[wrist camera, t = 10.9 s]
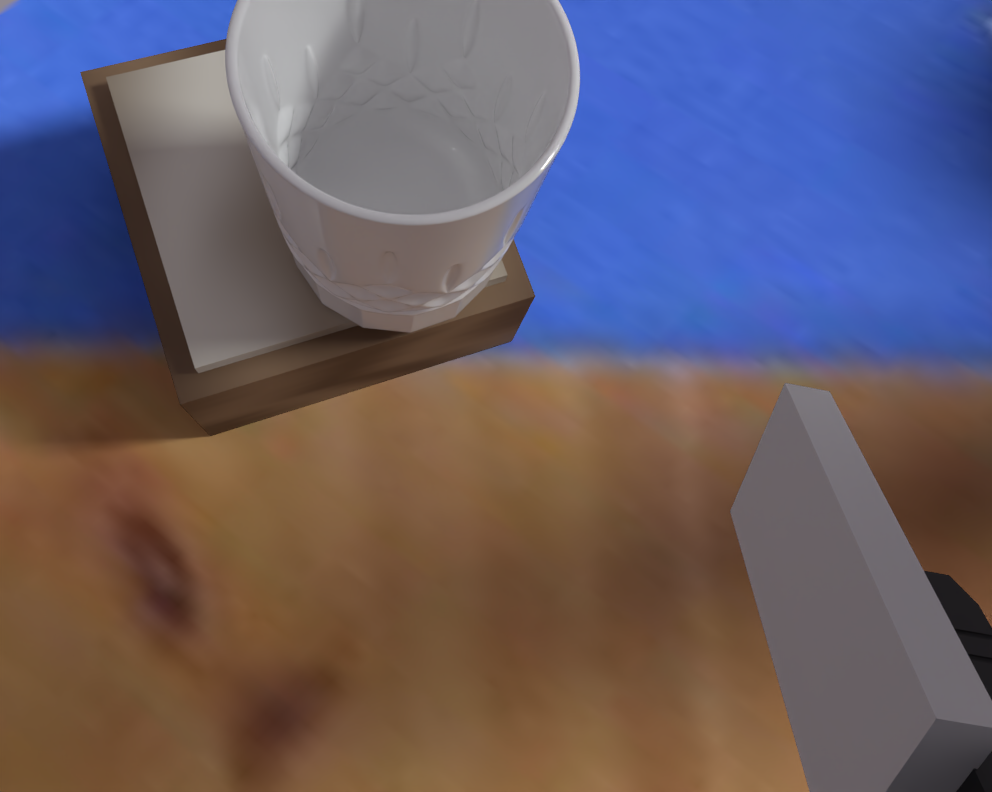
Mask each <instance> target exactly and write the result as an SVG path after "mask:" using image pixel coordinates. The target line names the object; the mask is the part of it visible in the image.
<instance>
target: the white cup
mask: <svg viewBox="0 0 992 792" xmlns="http://www.w3.org/2000/svg"><path fill="white" fill-rule="evenodd" d="M225 67H226V77H227V83H228V88H229V92H230V96H231V100H232V103H233V106H234V109H235V111H236V114H237V117H238V119H239V122H240V125H241V127H242V130H243V133H244V135H245V138H246V141H247V143H248V146H249V149H250V152H251V154H252V157H253V160H254V163H255V165H256V168H257V171H258V174H259V177H260V179H261V182H262V185H263V188H264V190H265V193H266V196H267V199H268V201H269V204H270V206H271V208H272V210H273V213H274V215H275V217H276V220H277V223H278V226H279V228H280V230H281V232H282V234H283V237H284V239H285V241H286V243H287V245H288V247H289V249H290V251H291V252H292V254H293V257H294V260H295V263H296V266H297V267H298V269H299V270H300V272H301V273H302V275H303V276H304V278H305V279H306V281H307V282H308V284H309V285H310V286H311V288H312V289H313V291H314V292H315V294H316V295H317V297H318V298H319V300H320V301H321V303H322V304H323V305H325V306H327V307H328V308H330V309H332V310H334V311H335V312H337V313H339V314H340V315H342V316H344V317H345V318H347V319H349V320H351V321H352V322H354V323H356V324H357V325H359V326H361V327H363V328H369V329H379V330H389V331H398V332H408V333H411V332H414V331H417V330H420V329H423V328H426V327H429V326H432V325H435V324H437V323H440V322H443V321H446V320H449V319H452V318H454V317H456V316H457V315H458V314H459V313H460V312H461V311H462V310H463V309H464V308H465V307H466V306H467V305H468V304H469V303H470V302H471V301H472V300H473V299H474V298H475V297H476V296H477V295H478V294H479V293H480V292H481V291H482V290H483V289H484V288H485V287H486V285H487V283H488V281H489V279H490V277H491V275H492V273H493V270H494V269H495V268H496V266H497V265H498V264H499V262H500V261H501V259H502V258H503V256H504V255H505V253H506V252H507V250H508V248H509V246H510V244H511V242H512V241H513V239H514V237H515V235H516V234H517V232H518V231H519V229H520V227H521V225H522V224H523V222H524V220H525V218H526V216H527V214H528V212H529V210H530V208H531V206H532V204H533V202H534V200H535V198H536V196H537V194H538V192H539V190H540V188H541V186H542V184H543V182H544V180H545V178H546V176H547V174H548V172H549V170H550V168H551V166H552V164H553V162H554V160H555V158H556V156H557V154H558V152H559V150H560V149H561V147H562V145H563V143H564V141H565V139H566V137H567V135H568V132H569V130H570V127H571V125H572V122H573V119H574V116H575V112H576V108H577V103H578V97H579V87H580V68H579V58H578V52H577V46H576V42H575V38H574V35H573V32H572V29H571V26H570V23H569V21H568V19H567V16H566V14H565V12H564V10H563V8H562V6H561V4H560V3H559V1H558V0H238V1H237V3H236V5H235V8H234V10H233V13H232V16H231V20H230V23H229V28H228V33H227V39H226V49H225Z"/></svg>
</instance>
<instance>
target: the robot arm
mask: <svg viewBox="0 0 992 792" xmlns="http://www.w3.org/2000/svg"><path fill="white" fill-rule="evenodd" d="M730 513H731V516H732V520H733V523H734V527H735V530H736V534H737V537H738V541H739V544H740V548H741V551H742V555H743V558H744V562H745V565H746V569H747V573H748V576H749V580H750V583H751V587H752V590H753V594H754V597H755V601H756V604H757V608H758V611H759V615H760V618H761V622H762V625H763V629H764V632H765V636H766V639H767V643H768V646H769V650H770V653H771V657H772V660H773V664H774V668H775V671H776V675H777V678H778V682H779V685H780V689H781V692H782V696H783V699H784V703H785V706H786V710H787V713H788V717H789V720H790V724H791V727H792V731H793V734H794V738H795V741H796V745H797V748H798V752H799V755H800V759H801V763H802V766H803V770H804V773H805V777H806V780H807V784H808V787H809V791H810V792H992V628H991V626H990V624H989V622H988V621H987V619H986V617H985V615H984V614H983V612H982V610H981V608H980V607H979V605H978V604H977V603H976V602H975V601H974V600H973V599H972V598H971V597H970V596H969V595H968V594H967V593H966V592H965V591H964V590H963V589H962V588H961V587H960V586H959V585H958V584H957V583H956V582H955V581H954V580H953V579H952V578H951V577H950V576H949V575H944V574H939V573H933V572H928V571H924V570H923V569H922V567H921V565H920V563H919V561H918V559H917V557H916V555H915V553H914V551H913V549H912V548H911V546H910V544H909V542H908V540H907V538H906V536H905V534H904V532H903V530H902V529H901V527H900V525H899V523H898V521H897V519H896V517H895V515H894V513H893V511H892V509H891V508H890V506H889V504H888V502H887V500H886V498H885V496H884V494H883V492H882V490H881V488H880V487H879V485H878V483H877V481H876V479H875V477H874V475H873V473H872V471H871V469H870V468H869V466H868V464H867V462H866V460H865V458H864V456H863V454H862V452H861V450H860V448H859V447H858V445H857V443H856V441H855V439H854V437H853V435H852V433H851V431H850V429H849V427H848V426H847V424H846V422H845V420H844V418H843V416H842V414H841V412H840V410H839V408H838V407H837V405H836V403H835V401H834V399H833V397H832V395H831V393H830V391H825V390H820V389H814V388H809V387H804V386H799V385H793V384H788V383H785V384H784V386H783V389H782V391H781V393H780V396H779V398H778V400H777V403H776V405H775V407H774V410H773V412H772V414H771V417H770V419H769V421H768V424H767V426H766V428H765V431H764V433H763V435H762V438H761V440H760V442H759V445H758V447H757V449H756V452H755V454H754V456H753V459H752V461H751V463H750V466H749V468H748V470H747V473H746V475H745V477H744V480H743V482H742V484H741V487H740V489H739V492H738V494H737V496H736V499H735V501H734V503H733V506H732V508H731V510H730Z"/></svg>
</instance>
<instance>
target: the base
mask: <svg viewBox="0 0 992 792" xmlns="http://www.w3.org/2000/svg"><path fill="white" fill-rule="evenodd" d="M225 49H226V39H224V40H219V41H215V42H211V43H206V44H202V45H198V46H193V47H189V48H184V49H180V50H176V51H171V52H167V53H163V54H158V55H154V56H149V57H145V58H141V59H136V60H132V61H128V62H123V63H119V64H114V65H110V66H106V67H101V68H97V69H93V70H88V71H84V72H80V73H81V76H82V79H83V83H84V86H85V89H86V93H87V96H88V99H89V103H90V106H91V109H92V113H93V116H94V119H95V123H96V126H97V129H98V133H99V136H100V139H101V143H102V146H103V149H104V153H105V156H106V159H107V162H108V166H109V169H110V172H111V176H112V179H113V182H114V186H115V189H116V192H117V196H118V199H119V202H120V206H121V209H122V212H123V216H124V219H125V222H126V226H127V229H128V232H129V236H130V239H131V242H132V246H133V249H134V252H135V256H136V259H137V262H138V266H139V269H140V272H141V276H142V279H143V282H144V286H145V289H146V292H147V296H148V299H149V302H150V306H151V309H152V312H153V316H154V319H155V322H156V326H157V329H158V332H159V336H160V339H161V342H162V346H163V349H164V352H165V356H166V359H167V362H168V366H169V369H170V372H171V376H172V379H173V382H174V386H175V389H176V392H177V396H178V399H179V402H180V405H181V406H182V407H183V408H184V409H185V410H186V411H187V412H188V413H189V414H190V415H191V416H192V417H193V418H194V419H195V420H196V422H197V423H198V424H199V425H200V426H201V427H202V428H203V429H204V430H205V431H206V432H207V433H208V434H209V435H210V436H212V435H215V434H218V433H222V432H225V431H228V430H231V429H234V428H238V427H241V426H244V425H247V424H250V423H253V422H257V421H260V420H263V419H266V418H269V417H272V416H276V415H279V414H282V413H285V412H288V411H292V410H295V409H298V408H301V407H304V406H307V405H311V404H314V403H317V402H320V401H323V400H327V399H330V398H333V397H336V396H339V395H342V394H346V393H349V392H352V391H355V390H358V389H361V388H365V387H368V386H371V385H374V384H377V383H381V382H384V381H387V380H390V379H393V378H396V377H400V376H403V375H406V374H409V373H412V372H416V371H419V370H422V369H425V368H428V367H431V366H435V365H438V364H441V363H444V362H447V361H450V360H454V359H457V358H460V357H463V356H466V355H470V354H473V353H476V352H479V351H482V350H485V349H489V348H492V347H495V346H498V345H501V344H504V343H508V342H511V341H512V340H513V338H514V336H515V334H516V332H517V330H518V328H519V326H520V324H521V322H522V320H523V318H524V316H525V315H526V313H527V311H528V309H529V307H530V305H531V303H532V301H533V299H534V297H535V295H534V292H533V289H532V287H531V284H530V281H529V279H528V276H527V274H526V271H525V268H524V266H523V263H522V260H521V258H520V255H519V253H518V250H517V247H516V245H515V242H514V239H513V241H512V242H511V244H510V246H509V248H508V250H507V252H506V253H505V255H504V256H503V258H502V259H501V261H500V262H499V264H498V265H497V266H496V268H495V269H494V270H493V273H492V275H491V277H490V279H489V281H488V283H487V285H486V287H485V288H484V289H483V290H482V291H481V292H480V293H479V294H478V295H477V296H476V297H475V298H474V299H473V300H472V301H471V302H470V303H469V304H468V305H467V306H466V307H465V308H464V309H463V310H462V311H461V312H460V313H459V314H458V315H457V316H456V317H454V318H452V319H449V320H446V321H443V322H440V323H437V324H435V325H432V326H429V327H426V328H423V329H420V330H417V331H414V332H411V333H408V332H398V331H389V330H379V329H369V328H363V327H361V326H359V325H357V324H356V323H354V322H352V321H351V320H349V319H347V318H345V317H344V316H342V315H340V314H339V313H337V312H335V311H334V310H332V309H330V308H328V307H327V306H325V305H323V304H322V303H321V301H320V300H319V298H318V297H317V295H316V294H315V292H314V291H313V289H312V288H311V286H310V285H309V284H308V282H307V281H306V279H305V278H304V276H303V275H302V273H301V272H300V270H299V269H298V267H297V266H296V263H295V260H294V257H293V254H292V252H291V251H290V249H289V247H288V245H287V243H286V241H285V239H284V237H283V234H282V232H281V230H280V228H279V226H278V223H277V220H276V217H275V215H274V213H273V210H272V208H271V206H270V204H269V201H268V199H267V196H266V193H265V190H264V188H263V185H262V182H261V179H260V177H259V174H258V171H257V168H256V165H255V163H254V160H253V157H252V154H251V152H250V149H249V146H248V143H247V141H246V138H245V135H244V133H243V130H242V127H241V125H240V122H239V119H238V117H237V114H236V111H235V109H234V106H233V103H232V100H231V96H230V92H229V88H228V83H227V77H226V67H225Z"/></svg>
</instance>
